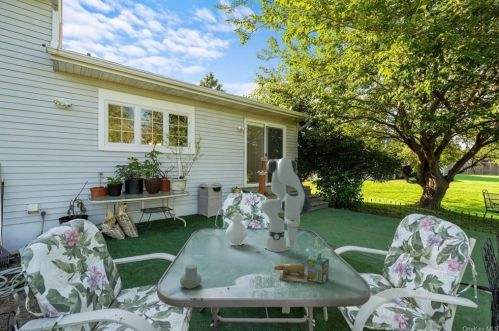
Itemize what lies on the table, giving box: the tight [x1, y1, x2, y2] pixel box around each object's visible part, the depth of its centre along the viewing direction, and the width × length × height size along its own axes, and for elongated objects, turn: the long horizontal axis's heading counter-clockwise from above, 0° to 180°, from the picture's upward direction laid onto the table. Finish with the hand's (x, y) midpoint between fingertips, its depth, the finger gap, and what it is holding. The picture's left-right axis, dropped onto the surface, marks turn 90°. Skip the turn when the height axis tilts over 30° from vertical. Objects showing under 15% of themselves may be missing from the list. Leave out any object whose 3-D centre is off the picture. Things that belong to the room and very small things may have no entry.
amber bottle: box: [273, 263, 306, 274], centre depth 143 cm, size 5×17×5 cm
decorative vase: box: [225, 212, 249, 246], centre depth 205 cm, size 18×18×25 cm
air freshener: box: [179, 264, 203, 290], centre depth 129 cm, size 11×8×10 cm
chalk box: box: [307, 252, 330, 284], centre depth 141 cm, size 9×9×15 cm
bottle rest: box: [279, 270, 308, 283], centre depth 143 cm, size 11×15×5 cm
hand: (291, 244), depth 143 cm, fingers open, 8 cm apart
